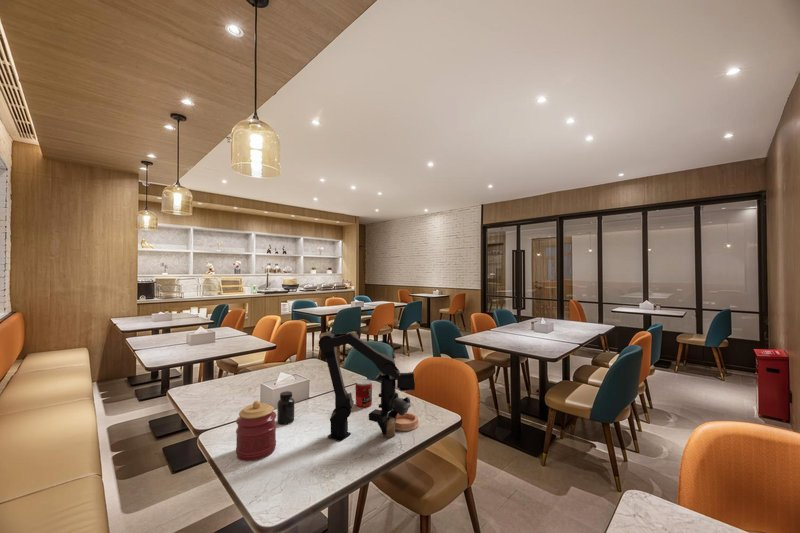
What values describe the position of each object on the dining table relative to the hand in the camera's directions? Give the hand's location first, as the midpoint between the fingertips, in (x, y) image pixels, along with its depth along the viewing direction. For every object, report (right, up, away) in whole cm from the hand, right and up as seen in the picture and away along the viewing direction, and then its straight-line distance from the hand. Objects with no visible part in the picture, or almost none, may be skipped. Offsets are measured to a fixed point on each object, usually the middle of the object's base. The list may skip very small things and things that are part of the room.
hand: (388, 431), depth 129 cm
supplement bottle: (-44, -2, +12) cm, 45 cm away
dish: (+6, -1, +9) cm, 11 cm away
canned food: (-13, -2, +30) cm, 33 cm away
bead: (0, -1, 0) cm, 1 cm away
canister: (-46, -1, -12) cm, 47 cm away
